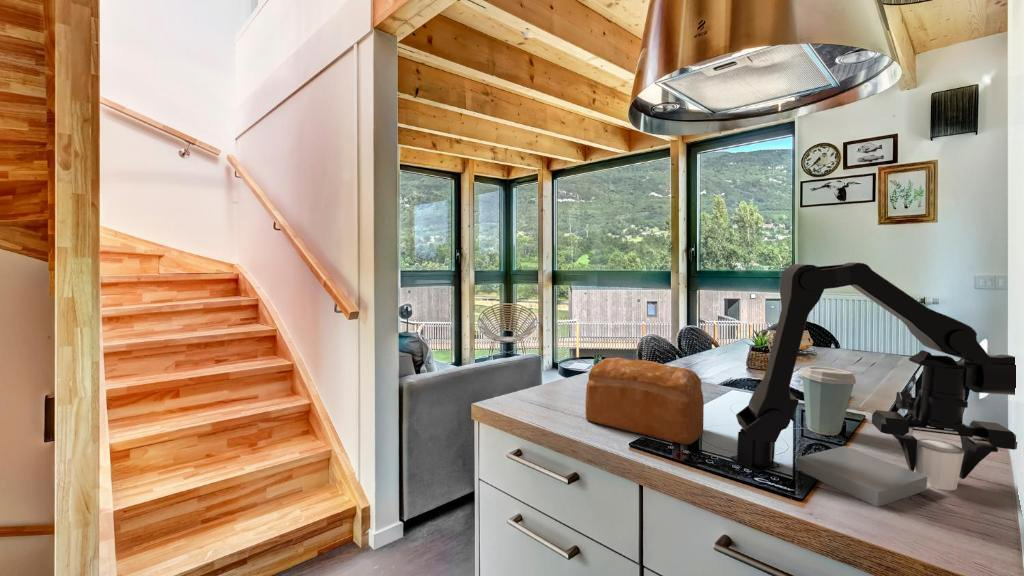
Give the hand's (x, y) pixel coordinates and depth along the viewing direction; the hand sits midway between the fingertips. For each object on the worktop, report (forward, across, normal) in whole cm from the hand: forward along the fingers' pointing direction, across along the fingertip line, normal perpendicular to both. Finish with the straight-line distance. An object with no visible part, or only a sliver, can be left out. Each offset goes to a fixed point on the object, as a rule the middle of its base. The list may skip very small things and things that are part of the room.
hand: (936, 474), depth 85 cm
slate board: (+2, +13, +4) cm, 13 cm away
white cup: (+2, 0, 0) cm, 2 cm away
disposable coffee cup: (+2, +13, -21) cm, 25 cm away
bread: (+2, +53, -8) cm, 53 cm away
